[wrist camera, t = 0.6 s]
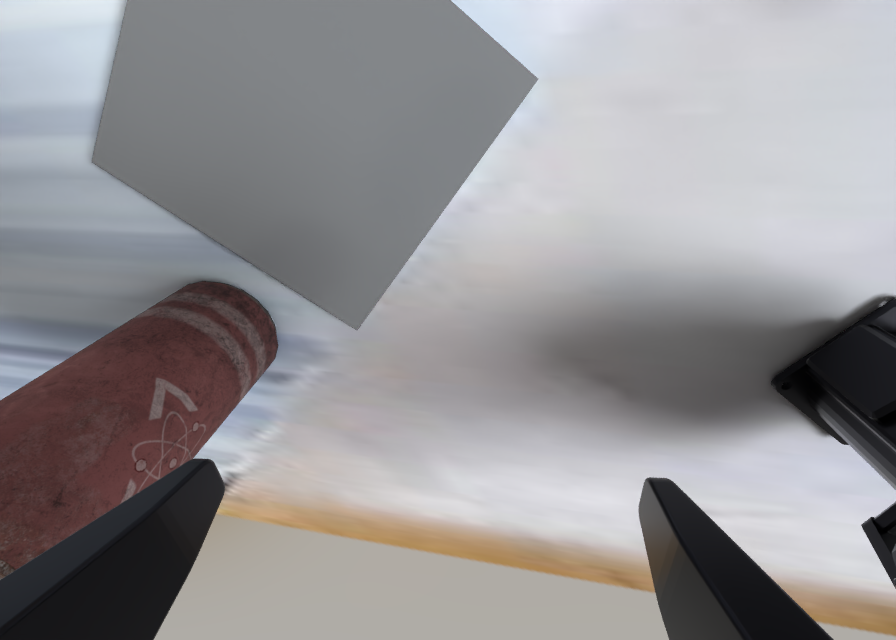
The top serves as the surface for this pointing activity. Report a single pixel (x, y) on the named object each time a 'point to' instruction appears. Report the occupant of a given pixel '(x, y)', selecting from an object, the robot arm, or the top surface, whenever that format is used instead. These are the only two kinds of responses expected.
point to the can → (124, 413)
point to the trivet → (307, 128)
